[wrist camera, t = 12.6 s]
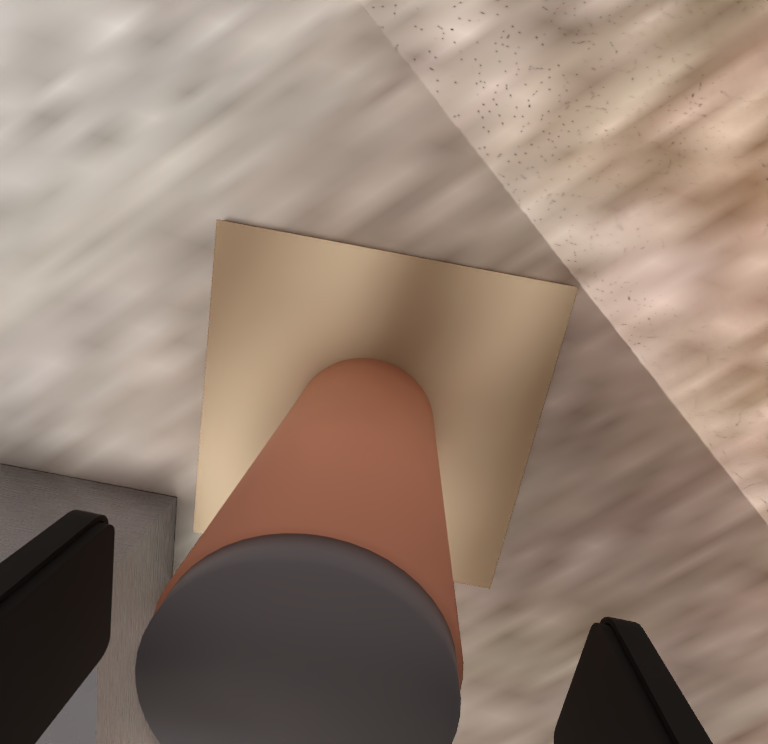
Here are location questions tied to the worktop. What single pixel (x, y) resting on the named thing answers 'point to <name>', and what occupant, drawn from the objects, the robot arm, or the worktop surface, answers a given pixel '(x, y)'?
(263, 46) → the worktop surface
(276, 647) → the orange grey-topped cylinder
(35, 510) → the bore housing
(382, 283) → the plate
